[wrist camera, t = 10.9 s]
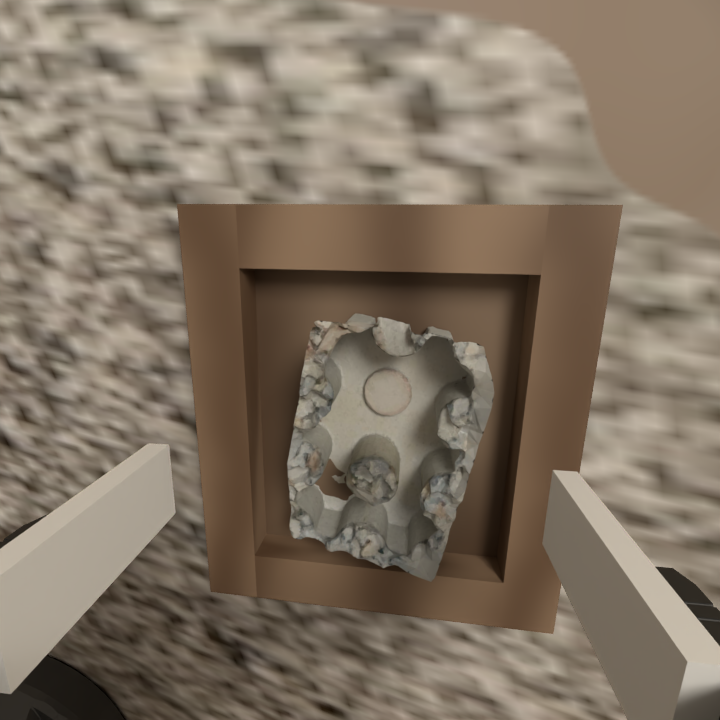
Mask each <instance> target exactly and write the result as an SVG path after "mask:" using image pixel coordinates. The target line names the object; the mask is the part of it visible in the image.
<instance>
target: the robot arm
mask: <svg viewBox="0 0 720 720" xmlns="http://www.w3.org/2000/svg"><path fill="white" fill-rule="evenodd" d="M175 513H176V511H175V501H174V491H173V480H172V470H171V460H170V450H169V445H166V444H151V443H148V444H147V445H146V446H144V447H143V448H141V449H140V450H139V451H137V452H136V453H134V454H133V455H132V456H130V457H129V458H127V459H126V460H125V461H123V462H122V463H120V464H119V465H117V466H116V467H115V468H113V469H112V470H110V471H109V472H108V473H106V474H105V475H103V476H102V477H101V478H99V479H98V480H96V481H95V482H94V483H92V484H91V485H89V486H88V487H87V488H85V489H84V490H82V491H81V492H79V493H78V494H77V495H75V496H74V497H72V498H71V499H70V500H68V501H67V502H65V503H64V504H63V505H61V506H60V507H58V508H57V509H56V510H54V511H53V512H51V513H50V514H48V515H45V516H43V517H41V518H39V519H37V520H35V521H32V522H30V523H28V524H26V525H24V526H22V527H21V528H19V529H18V530H16V531H15V532H13V533H12V534H11V535H9V536H8V537H6V538H5V539H4V541H3V542H1V541H0V720H124V718H123V717H122V715H121V714H120V712H119V711H118V709H117V708H116V707H115V705H114V704H113V703H112V702H111V700H110V699H109V698H108V697H107V696H106V695H105V694H104V693H103V692H102V691H101V690H100V689H99V688H98V687H97V686H95V685H94V684H93V683H92V682H91V681H89V680H88V679H87V678H86V677H84V676H83V675H81V674H80V673H78V672H77V671H75V670H74V669H72V668H70V667H69V666H67V665H65V664H63V663H61V662H59V661H57V660H55V659H52V658H50V657H48V656H46V655H47V654H48V653H49V652H50V651H51V650H52V648H53V647H54V646H55V645H56V644H57V643H58V642H59V641H60V640H61V639H62V638H63V636H64V635H65V634H66V633H67V632H68V631H69V630H70V629H71V628H72V627H73V625H74V624H75V623H76V622H77V621H78V620H79V619H80V618H81V617H82V616H83V614H84V613H85V612H86V611H87V610H88V609H89V608H90V607H91V606H92V605H93V603H94V602H95V601H96V600H97V599H98V598H99V597H100V596H101V595H102V594H103V593H104V591H105V590H106V589H107V588H108V587H109V586H110V585H111V584H112V583H113V582H114V580H115V579H116V578H117V577H118V576H119V575H120V574H121V573H122V572H123V571H124V569H125V568H126V567H127V566H128V565H129V564H130V563H131V562H132V561H133V560H134V558H135V557H136V556H137V555H138V554H139V553H140V552H141V551H142V550H143V549H144V548H145V546H146V545H147V544H148V543H149V542H150V541H151V540H152V539H153V538H154V537H155V535H156V534H157V533H158V532H159V531H160V530H161V529H162V528H163V527H164V526H165V524H166V523H167V522H168V521H169V520H170V519H171V518H172V517H173V516H174V515H175ZM542 544H543V546H544V548H545V550H546V552H547V554H548V556H549V558H550V561H551V563H552V565H553V567H554V569H555V571H556V573H557V575H558V577H559V579H560V581H561V583H562V585H563V587H564V589H565V592H566V594H567V596H568V598H569V600H570V602H571V604H572V606H573V608H574V610H575V612H576V614H577V616H578V618H579V621H580V623H581V625H582V627H583V629H584V631H585V633H586V635H587V637H588V639H589V641H590V643H591V645H592V647H593V649H594V652H595V654H596V656H597V658H598V660H599V662H600V664H601V666H602V668H603V670H604V672H605V674H606V676H607V678H608V680H609V683H610V685H611V687H612V689H613V691H614V693H615V695H616V697H617V699H618V701H619V703H620V705H621V707H622V709H623V711H624V714H625V716H626V718H627V720H720V611H719V610H718V609H717V608H716V607H713V603H712V602H711V601H710V600H709V599H708V598H707V597H706V596H705V595H704V593H703V592H702V591H701V590H700V589H699V588H698V587H697V586H696V585H695V584H694V583H693V582H691V581H690V580H688V579H687V578H686V577H684V576H683V575H681V574H680V573H679V572H677V571H676V570H674V569H673V568H665V567H655V566H654V565H653V564H652V562H651V561H650V560H649V559H648V558H647V556H646V555H645V554H644V553H643V551H642V550H641V549H640V548H639V547H638V545H637V544H636V543H635V542H634V540H633V539H632V538H631V537H630V536H629V534H628V533H627V532H626V531H625V529H624V528H623V527H622V526H621V524H620V523H619V522H618V521H617V520H616V518H615V517H614V516H613V515H612V513H611V512H610V511H609V510H608V509H607V507H606V506H605V505H604V504H603V502H602V501H601V500H600V499H599V498H598V496H597V495H596V494H595V493H594V491H593V490H592V489H591V488H590V486H589V485H588V484H587V483H586V482H585V480H584V479H583V478H582V477H581V475H580V474H579V473H578V472H575V471H560V470H553V471H552V478H551V486H550V493H549V500H548V507H547V514H546V521H545V529H544V536H543V543H542Z"/></svg>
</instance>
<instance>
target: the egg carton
mask: <svg viewBox="0 0 720 720" xmlns="http://www.w3.org/2000/svg"><path fill="white" fill-rule="evenodd" d="M314 324H315V326H316V327H313V328H312V329H311V332H310V337H309V343H308V346H307V349H306V355H305V361H304V367H303V371H302V376H301V382H300V390H299V395H300V397H299V402H298V407H297V411H296V416H295V421H294V425H293V426H294V431H293V435H292V440H291V446H290V452H289V457H288V462H287V466H288V485H289V491H290V504H291V516H290V531H291V535H292V536H293V538H295V539H303V538H304V537H311V538H314V539H317V540H319V541H321V542H322V543H324V545H325V548H326V549H327V550H328V551H330V552H334V551H346V552H348V553H350V554H352V555H353V557H356V558H357V559H365V560H368V561H370V562H372V563H375V564H377V565H379V566H381V567H382V568H385V567H387V566H392V565H396V566H399V567H400V568H402V569H403V570H404V571H406V572H408V573H410V574H412V575H414V576H417V577H419V578H422V579H425V580H427V581H430V582H431V581H432V580H433V579H434V578H435V576H436V573H437V570H438V568H439V565H440V562H441V559H442V556H443V553H444V550H445V547H446V544H447V541H448V536H449V532H450V528H451V525H452V522H453V521H455V518H456V510H457V508H458V505H459V504H460V503H461V502H462V500H463V497H464V494H465V490H466V486H467V482H468V478H469V474H470V472H471V469H472V466H473V463H474V461H475V457H476V453H477V449H478V445H479V443H480V440H481V438H482V435H483V433H484V430H485V427H486V424H487V421H488V418H489V415H490V412H491V409H492V403H493V397H494V387H493V380H492V376H491V373H490V369H489V365H488V362H487V358H486V354H485V349H484V347H483V346H481V345H479V344H477V343H473V342H457V343H456V342H454V341H453V338H452V335H451V332H449V331H446V330H442V329H437V328H435V327H433V326H432V327H428V328H427V329H426V331H425V333H424V334H423V335H418V334H415V333H413V332H412V331H411V328H410V324H406V323H403V322H399V321H395V320H392V319H387V318H383V317H378V322H376V321H375V318H373V317H371V316H367V315H363V314H354V315H353V316H352V317H351V318H350V319H349V320H348V321H347V322H346V323H345V324H342V323H340V322H327V321H320V320H319V321H315V322H314ZM447 339H448V341H447ZM462 377H466V378H465V379H462ZM320 420H321V422H320ZM329 458H330V459H331V460H332V462H333V463H334V465H335V466H336V468H337V469H339V470H340V471H342V472H344V473H345V474H343V475H342V476H341V477H340V476H339V477H337V476H336V475H334V476H332V477H333V478H334V480H335V481H337V482H338V483H345V481H344V478H345V476H346V484H347V486H348V487H349V489H350V490H351V491H352V492H353V493H354V494H353V495H351V496H350V497H349V498H348V500H347V501H343V500H341V499H339V498H336V497H332V496H328V495H324V494H323V493H322V491H321V490H320V489H319V486H318V485H316V484H315V483H316V482H317V481H318V479H319V478H320V477H321V476H322V474H323V471H324V469H325V467H326V465H327V462H328V460H329Z"/></svg>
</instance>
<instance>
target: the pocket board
mask: <svg viewBox="0 0 720 720" xmlns="http://www.w3.org/2000/svg"><path fill="white" fill-rule="evenodd" d="M622 207H623V205H317V204H177V209H178V220H179V232H180V243H181V255H182V266H183V278H184V289H185V301H186V312H187V324H188V335H189V347H190V358H191V370H192V381H193V393H194V404H195V416H196V427H197V439H198V450H199V462H200V473H201V485H202V496H203V508H204V519H205V531H206V542H207V554H208V565H209V577H210V588H211V592H218V593H226V594H234V595H242V596H250V597H258V598H266V599H275V600H283V601H291V602H299V603H307V604H315V605H323V606H331V607H339V608H348V609H356V610H364V611H372V612H380V613H388V614H396V615H404V616H412V617H421V618H429V619H437V620H445V621H453V622H461V623H469V624H477V625H485V626H494V627H502V628H510V629H518V630H526V631H534V632H542V633H550V634H553V631H554V625H555V619H556V613H557V607H558V601H559V595H560V588H561V581H560V579H559V577H558V575H557V573H556V571H555V569H554V567H553V565H552V563H551V561H550V558H549V556H548V554H547V552H546V550H545V548H544V546H543V544H542V543H543V536H544V529H545V521H546V514H547V507H548V500H549V493H550V486H551V478H552V471H553V470H560V471H575V472H578V473H579V472H580V465H581V459H582V453H583V447H584V441H585V435H586V428H587V422H588V416H589V410H590V404H591V398H592V392H593V385H594V379H595V373H596V367H597V361H598V355H599V348H600V342H601V336H602V330H603V324H604V318H605V312H606V305H607V299H608V293H609V287H610V281H611V275H612V268H613V262H614V256H615V250H616V244H617V238H618V232H619V225H620V219H621V213H622ZM354 314H363V315H367V316H371V317H373V318H375V321H376V322H378V317H383V318H387V319H392V320H395V321H399V322H403V323H406V324H410V328H411V331H412V332H413V333H415V334H418V335H423V334H424V333H425V331H426V329H427V328H428V327H432V326H433V327H435V328H437V329H442V330H446V331H449V332H451V335H452V338H453V341H454V342H456V343H457V342H473V343H477V344H479V345H481V346H483V347H484V349H485V354H486V358H487V362H488V365H489V369H490V373H491V376H492V380H493V387H494V397H493V403H492V409H491V412H490V415H489V418H488V421H487V424H486V427H485V430H484V433H483V435H482V438H481V440H480V443H479V445H478V449H477V453H476V457H475V461H474V463H473V466H472V469H471V472H470V474H469V478H468V482H467V486H466V490H465V494H464V497H463V500H462V502H461V503H460V504H459V505H458V508H457V510H456V518H455V521H453V522H452V525H451V528H450V532H449V536H448V541H447V544H446V547H445V550H444V553H443V556H442V559H441V562H440V565H439V568H438V570H437V573H436V576H435V578H434V579H433V580H432V581H431V582H430V581H427V580H425V579H422V578H419V577H417V576H414V575H412V574H410V573H408V572H406V571H404V570H403V569H402V568H400V567H399V566H396V565H392V566H387V567H385V568H382V567H381V566H379V565H377V564H375V563H372V562H370V561H368V560H365V559H357V558H356V557H353V555H352V554H350V553H348V552H346V551H334V552H330V551H328V550H327V549H326V548H325V545H324V543H322V542H321V541H319V540H317V539H314V538H311V537H304V538H303V539H295V538H293V536H292V535H291V531H290V516H291V504H290V491H289V485H288V466H287V462H288V457H289V452H290V446H291V440H292V435H293V431H294V426H293V425H294V421H295V416H296V411H297V407H298V402H299V397H300V395H299V390H300V382H301V376H302V371H303V367H304V361H305V355H306V349H307V346H308V343H309V337H310V332H311V329H312V328H313V327H316V326H315V324H314V322H315V321H319V320H320V321H327V322H340V323H342V324H345V323H346V322H347V321H348V320H349V319H350V318H351V317H352V316H353V315H354ZM447 341H448V339H447ZM465 378H466V377H462V379H465ZM320 422H321V420H320ZM343 474H345V473H344V472H342V471H340V470H339V469H337V468H336V466H335V465H334V463H333V462H332V460H331V459H330V458H329V460H328V462H327V465H326V467H325V469H324V471H323V474H322V476H321V477H320V478H319V479H318V481H317V482H316V483H315V484H316V485H318V486H319V489H320V490H321V491H322V493H323V494H324V495H328V496H332V497H336V498H339V499H341V500H343V501H347V500H348V498H349V497H350V496H351V495H353V494H354V493H353V492H352V491H351V490H350V489H349V487H348V486H347V484H346V476H345V478H344V481H345V483H338V482H337V481H335V480H334V478H333V477H332V476H334V475H336V476H337V477H339V476H340V477H341V476H342V475H343Z"/></svg>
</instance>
